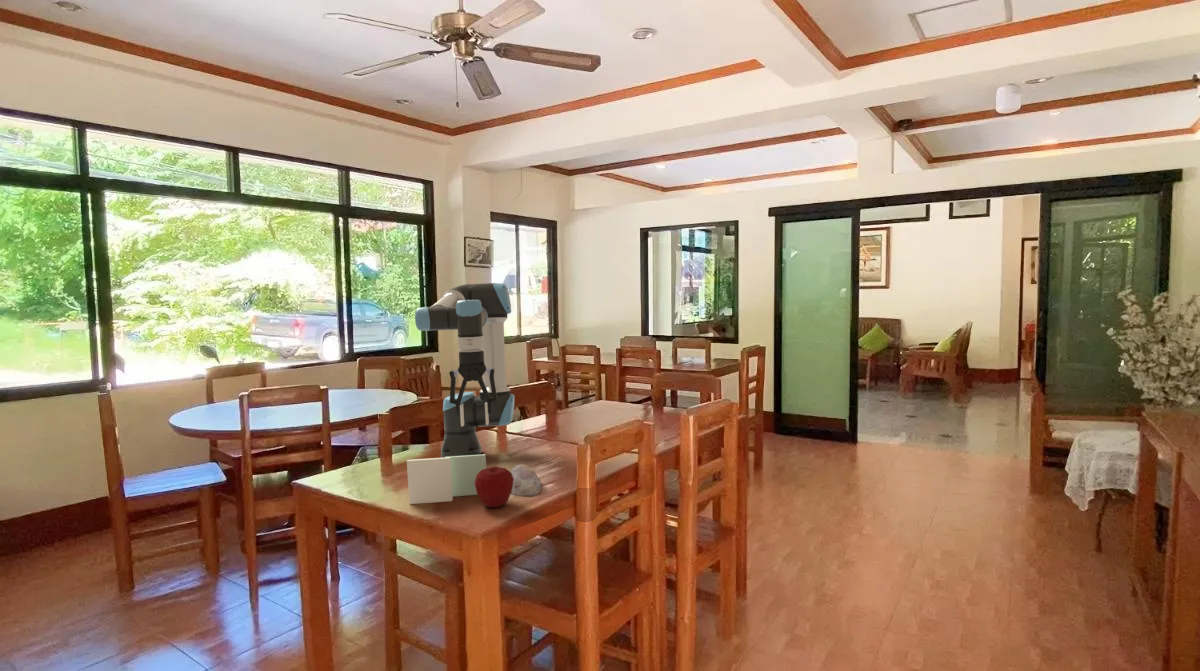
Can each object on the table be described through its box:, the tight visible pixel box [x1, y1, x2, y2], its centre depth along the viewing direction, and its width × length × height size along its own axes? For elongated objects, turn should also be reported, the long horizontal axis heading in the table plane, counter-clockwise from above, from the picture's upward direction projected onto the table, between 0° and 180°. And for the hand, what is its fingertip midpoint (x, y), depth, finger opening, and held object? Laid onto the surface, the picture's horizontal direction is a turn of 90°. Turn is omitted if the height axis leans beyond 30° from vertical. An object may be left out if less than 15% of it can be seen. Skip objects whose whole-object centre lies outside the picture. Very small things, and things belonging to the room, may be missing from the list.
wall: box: [406, 457, 454, 505], centre depth 187 cm, size 1×12×13 cm, turn 96°
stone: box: [509, 463, 542, 497], centre depth 198 cm, size 17×10×10 cm
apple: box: [474, 466, 514, 508], centre depth 182 cm, size 11×11×12 cm
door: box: [450, 453, 487, 497], centre depth 194 cm, size 5×12×12 cm, turn 96°
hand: (475, 424), depth 194 cm, fingers open, 7 cm apart
